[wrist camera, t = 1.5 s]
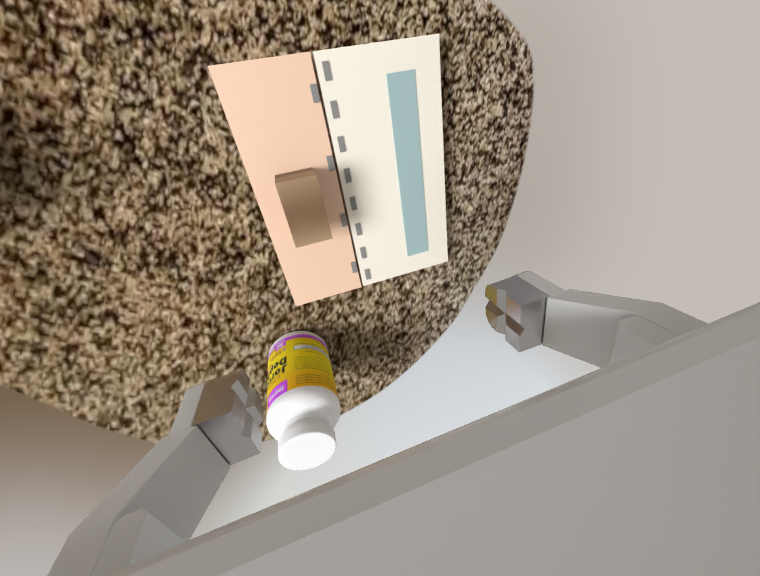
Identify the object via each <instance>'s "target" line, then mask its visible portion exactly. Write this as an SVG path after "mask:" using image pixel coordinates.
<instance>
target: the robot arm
mask: <svg viewBox="0 0 760 576" xmlns="http://www.w3.org/2000/svg"><path fill="white" fill-rule="evenodd" d="M485 296H486V297H487V298H488V299H489V302H488V304H487V306H486V316H487V318H488V321H489V323H490V324H491V326H492V328H494V330H495V331H497V332H499V333H502V334H505V337H506V341H507V342H508V343H509V344H511V345H512V346H513V347H514V348H515V349H516V350H517V351H518V352H521V351H524V350H527V349H529V348H532V347H535V346H538V345H541V344H543V346H546V347H549V348H551V349H554V350H556V351H559V352H562V353H564V354H567V355H570V356H572V357H575V358H577V359H580V360H583V361H585V362H588V363H590V364H593V365H596V366H598V367H601V369H599V370H597V371H594V372H591V373H589V374H586V375H584V376H582V377H579V378H577V379H575V380H572V381H570V382H567V383H565V384H563V385H560V386H558V387H555V388H553V389H550V390H548V391H546V392H543V393H541V394H539V395H536V396H534V397H531V398H529V399H527V400H524V401H522V402H519V403H517V404H515V405H512V406H510V407H508V408H505V409H503V410H500V411H498V412H496V413H493V414H491V415H488V416H486V417H483V418H481V419H479V420H476V421H474V422H472V423H469V424H467V425H464V426H462V427H460V428H457V429H455V430H452V431H450V432H447V433H445V434H443V435H440V436H438V437H435V438H433V439H431V440H428V441H426V442H423V443H421V444H419V445H416V446H414V447H411V448H409V449H407V450H404V451H402V452H400V453H397V454H395V455H392V456H390V457H387V458H385V459H383V460H380V461H378V462H375V463H373V464H371V465H368V466H366V467H364V468H361V469H359V470H356V471H354V472H351V473H349V474H347V475H345V476H342V477H340V478H337V479H335V480H332V481H330V482H328V483H325V484H323V485H321V486H318V487H316V488H313V489H311V490H308V491H306V492H304V493H301V494H299V495H296V496H294V497H292V498H289V499H287V500H285V501H282V502H280V503H277V504H275V505H272V506H270V507H268V508H265V509H263V510H260V511H258V512H256V513H253V514H251V515H248V516H246V517H244V518H241V519H239V520H236V521H234V522H232V523H229V524H227V525H225V526H222V527H220V528H217V529H215V530H212V531H210V532H208V533H206V534H203V535H200V536H198V537H196V538H193V539H191V540H189V539H190V538H191V536H192V534H193V532H194V531H195V528H196V527H197V525H198V524H199V522H200V520H201V518H202V517H203V515H204V513H205V511H206V509H207V508H208V506H209V504H210V503H211V501H212V499H213V497H214V496H215V494H216V492H217V490H218V489H219V487H220V485H221V483H222V482H223V480H224V478H225V476H226V474H227V473H228V471H229V469H230V465H233V464H235V463H237V462H240V461H242V460H244V459H247V458H249V457H252V456H254V455H256V454H259V453H261V442H262V431H261V430H260V428H259V425H260V423H261V422H262V420H263V412H264V411H263V405H262V400H261V398H260V395H259V393H258V392H257V390H256V389H254V388H252V387H249V383H250V378H249V377H248V375H247V374H246V372H245V371H242V370H241V371H237V372H234V373H231V374H228V375H225V376H222V377H219V378H216V379H213V380H210V381H207V382H204V383H201V384H198V385H195V386H192V387H190V388H189V389H187V390H186V392H185V395H184V397H183V400H182V403H181V405H180V408H179V410H178V413H177V416H176V418H175V421H174V423H173V426H172V429H171V431H170V434H169V435H168V436H165V437H163V438H162V439H161V440H160V441H159V442H158V443H157V444H156V445H155V446H154V447H153V448H152V449H151V451H150V452H149V453H148V454H147V455H146V456H145V457H144V458H143V459H142V460H141V461H140V462H139V463H138V464H137V465H136V466H135V467H134V468H133V469H132V470H131V471H130V472H129V473H128V474H127V475H126V476H125V477H124V479H123V480H122V481H121V482H120V483H119V484H118V485H117V486H116V487H115V488H114V489H113V490H112V491H111V492H110V493H109V494H108V495H107V496H106V497H105V498H104V499H103V500H102V501H101V502H100V504H99V505H98V506H97V507H96V508H95V509H94V510H93V511H92V512H91V513H90V514H89V515H88V516H87V517H86V518H85V519H84V520H83V521H82V522H81V523H80V524H79V525H78V526H77V527H76V528H75V530H74V531H73V532H72V533H71V534H70V535H69V536H68V538H67V540H66V542H65V544H64V546H63V548H62V550H61V551H60V553H59V555H58V557H57V559H56V561H55V562H54V564H53V566H52V568H51V570H50V572H49V574H48V576H760V302H759V303H757V304H755V305H752V306H750V307H747V308H745V309H743V310H740V311H738V312H735V313H733V314H730V315H728V316H726V317H724V318H721V319H719V320H716V321H714V322H711V323H709V324H708V323H705V322H703V321H701V320H699V319H696V318H694V317H692V316H690V315H688V314H685V313H683V312H681V311H679V310H676V309H674V308H672V307H670V306H667V305H665V304H663V303H659V302H652V301H645V300H639V299H632V298H624V297H618V296H611V295H605V294H598V293H592V292H585V291H578V290H571V289H569V290H566V291H565V290H564V289H562V288H560V287H558V286H556V285H554V284H553V283H551V282H549V281H547V280H545V279H543V278H542V277H540V276H538V275H536V274H535V273H533V272H530V271H525V272H522V273H520V274H517V275H514V276H513V277H510V278H507V279H505V280H502V281H499V282H496V283H493V284H490V285H487V287H486V290H485Z"/></svg>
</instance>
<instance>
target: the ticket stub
mask: <svg viewBox="0 0 760 576" xmlns="http://www.w3.org/2000/svg"><path fill="white" fill-rule="evenodd" d="M208 68H209V71H210V74H211V77H212V79H213V82H214V85H215V87H216V90H217V93H218V96H219V98H220V101H221V104H222V106H223V109H224V112H225V115H226V117H227V120H228V123H229V125H230V128H231V131H232V134H233V136H234V139H235V142H236V144H237V147H238V150H239V153H240V155H241V158H242V161H243V163H244V166H245V169H246V172H247V174H248V177H249V180H250V182H251V185H252V188H253V191H254V193H255V196H256V199H257V201H258V204H259V207H260V210H261V212H262V215H263V218H264V220H265V223H266V226H267V229H268V231H269V234H270V237H271V239H272V242H273V245H274V248H275V250H276V253H277V256H278V258H279V261H280V264H281V267H282V269H283V272H284V275H285V277H286V280H287V283H288V286H289V288H290V291H291V294H292V296H293V299H294V302H295V305H296V306H299V305H302V304H305V303H309V302H312V301H316V300H319V299H322V298H326V297H329V296H333V295H336V294H339V293H343V292H346V291H350V290H353V289H356V288H360V287H361V283H360V278H359V274H358V269H357V265H356V260H355V255H354V251H353V246H352V242H351V237H350V233H349V228H348V223H347V219H346V214H345V210H344V205H343V201H342V196H341V191H340V187H339V182H338V178H337V173H336V169H335V164H334V160H333V155H332V150H331V146H330V141H329V137H328V132H327V128H326V123H325V118H324V114H323V109H322V105H321V100H320V96H319V91H318V87H317V82H316V77H315V73H314V68H313V64H312V59H311V55H310V52H304V53H297V54H290V55H283V56H276V57H269V58H261V59H254V60H247V61H240V62H233V63H226V64H219V65H212V66H208Z"/></svg>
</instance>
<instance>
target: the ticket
mask: <svg viewBox="0 0 760 576" xmlns="http://www.w3.org/2000/svg"><path fill="white" fill-rule="evenodd" d="M311 58H312V62H313V67H314V71H315V76H316V81H317V85H318V90H319V94H320V99H321V103H322V108H323V113H324V117H325V122H326V126H327V131H328V135H329V140H330V145H331V149H332V154H333V158H334V163H335V168H336V172H337V177H338V181H339V186H340V190H341V195H342V200H343V204H344V209H345V213H346V218H347V222H348V227H349V232H350V236H351V241H352V245H353V250H354V254H355V259H356V264H357V268H358V273H359V277H360V281H361V282H362V284H363V286H365V285H368V284H372V283H375V282H378V281H382V280H385V279H389V278H392V277H395V276H399V275H402V274H406V273H409V272H412V271H416V270H419V269H423V268H426V267H429V266H433V265H436V264H440V263H443V262H446V261H448V252H447V227H446V201H445V175H444V149H443V124H442V98H441V72H440V47H439V34H433V35H426V36H419V37H412V38H405V39H398V40H391V41H384V42H376V43H369V44H362V45H355V46H348V47H341V48H334V49H327V50H320V51H313V53H312V54H311Z"/></svg>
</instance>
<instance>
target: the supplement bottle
mask: <svg viewBox="0 0 760 576" xmlns="http://www.w3.org/2000/svg"><path fill="white" fill-rule="evenodd" d="M339 417H340V403H339V398H338V394H337V390H336V385H335V381H334V376H333V372H332V367H331V363H330V358H329V354H328V350H327V346H326V344H325V342H324V341H323V339H322V338H321V337H319V336H318V335H316V334H314V333H312V332H308V331H294V332H290V333H287V334H285V335H283V336H281V337H280V338H279V339H277V340H276V341H275V342H274V344H273V345H272V347H271V349H270V351H269V358H268V385H267V427H268V430H269V432H270V434H271V435H272V436H273V437H274V438H275V439H276V440H278V441H279V442H278V458H279V461H280V463H281V464H282V465H283V466H285V467H286V468H288V469H292V470H305V469H310V468H314V467H316V466H319V465H321V464H322V463H324V462H325V461H327V460H328V459H329V458H330V457H331V456H332V455H333V453H334V452H335V449H336V438H335V432H334V429H333V428H334V427H335V426H336V424H337V422H338V420H339Z"/></svg>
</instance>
